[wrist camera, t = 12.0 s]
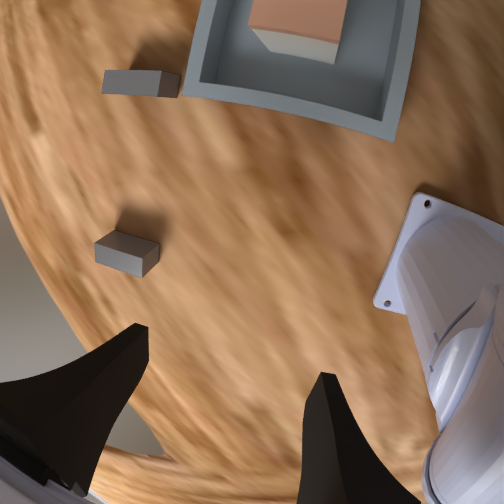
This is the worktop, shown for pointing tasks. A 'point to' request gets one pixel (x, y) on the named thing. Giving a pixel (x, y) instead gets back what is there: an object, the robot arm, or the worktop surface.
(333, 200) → the worktop surface
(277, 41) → the pink and gray block
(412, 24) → the tray
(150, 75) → the grey blocks
